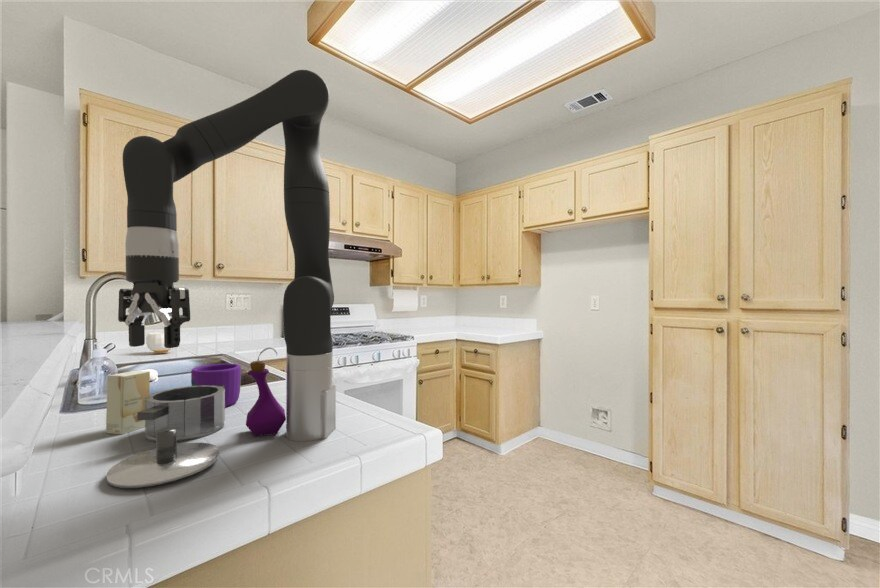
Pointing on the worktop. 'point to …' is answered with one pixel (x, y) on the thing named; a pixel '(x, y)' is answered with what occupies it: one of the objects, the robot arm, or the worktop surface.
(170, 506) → the worktop surface
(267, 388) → the perfume bottle
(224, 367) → the mug
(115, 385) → the skincare box
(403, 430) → the worktop surface
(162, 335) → the cup
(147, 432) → the pot
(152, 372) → the garlic
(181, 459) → the lid
